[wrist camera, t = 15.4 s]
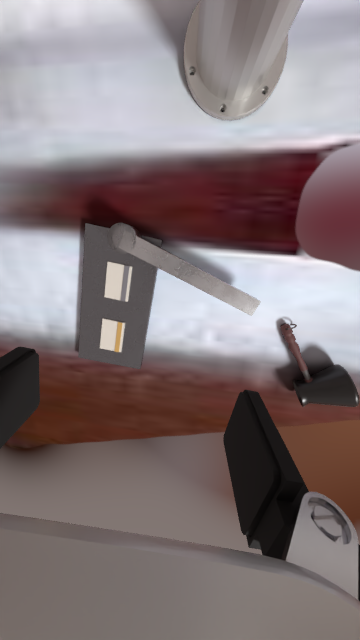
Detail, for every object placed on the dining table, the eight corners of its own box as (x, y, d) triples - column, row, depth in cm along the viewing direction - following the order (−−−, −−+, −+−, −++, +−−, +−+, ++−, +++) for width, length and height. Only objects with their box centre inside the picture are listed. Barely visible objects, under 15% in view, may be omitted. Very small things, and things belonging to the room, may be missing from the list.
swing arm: (112, 245, 33) (103, 245, 29) (121, 220, 32) (113, 217, 28) (242, 312, 36) (248, 319, 32) (255, 291, 35) (263, 297, 31)
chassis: (88, 223, 33) (85, 223, 32) (162, 240, 34) (161, 240, 33) (81, 354, 41) (78, 357, 40) (141, 365, 42) (140, 369, 41)
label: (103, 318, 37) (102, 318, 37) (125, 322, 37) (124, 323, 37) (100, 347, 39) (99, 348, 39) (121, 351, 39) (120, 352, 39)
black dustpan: (341, 390, 42) (296, 397, 45) (321, 307, 39) (273, 320, 42) (364, 415, 35) (309, 423, 38) (342, 317, 32) (283, 332, 34)
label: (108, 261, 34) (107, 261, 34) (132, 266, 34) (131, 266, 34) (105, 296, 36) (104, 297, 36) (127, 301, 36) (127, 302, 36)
